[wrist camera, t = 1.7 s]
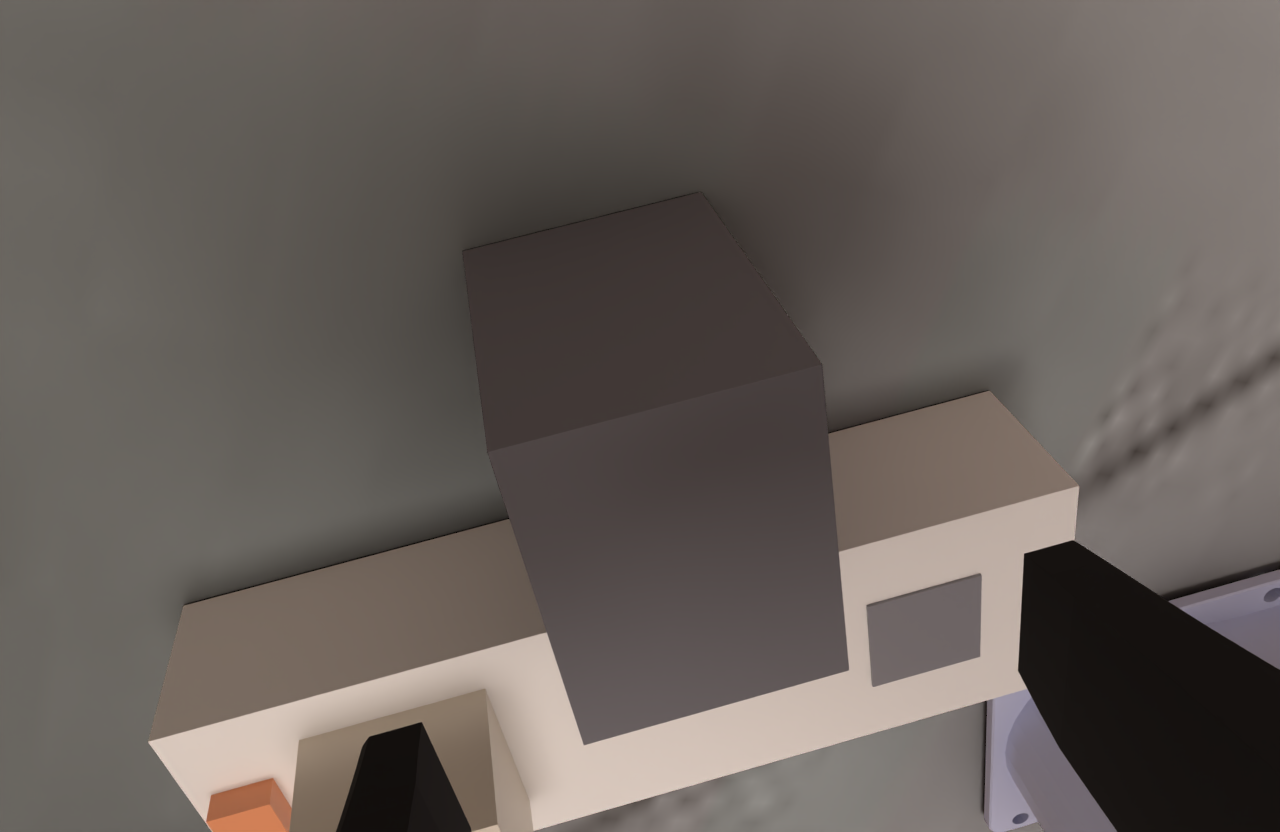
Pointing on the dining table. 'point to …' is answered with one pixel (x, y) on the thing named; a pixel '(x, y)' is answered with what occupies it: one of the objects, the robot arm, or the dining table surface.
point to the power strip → (527, 669)
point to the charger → (659, 463)
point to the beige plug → (461, 745)
